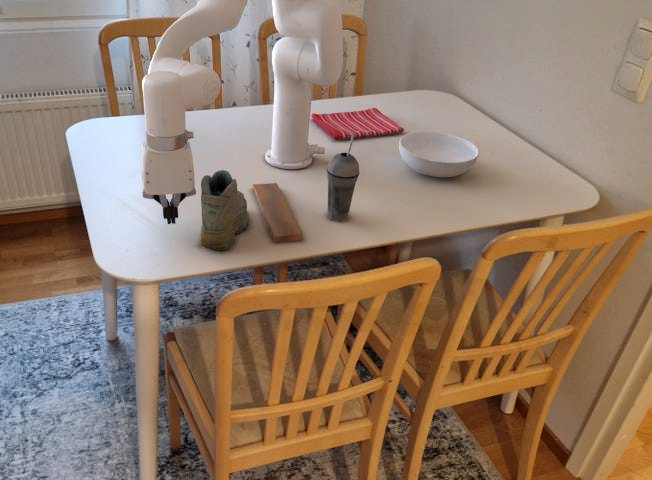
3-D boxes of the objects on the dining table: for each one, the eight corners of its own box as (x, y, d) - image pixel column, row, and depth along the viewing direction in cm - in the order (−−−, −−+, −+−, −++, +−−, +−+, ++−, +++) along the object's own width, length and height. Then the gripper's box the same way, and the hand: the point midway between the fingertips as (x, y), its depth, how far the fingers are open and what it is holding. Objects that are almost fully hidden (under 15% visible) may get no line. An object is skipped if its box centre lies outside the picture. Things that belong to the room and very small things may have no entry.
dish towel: (308, 120, 194) (309, 112, 192) (376, 113, 202) (377, 105, 201) (333, 142, 181) (334, 133, 180) (404, 134, 189) (405, 126, 188)
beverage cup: (319, 208, 149) (328, 127, 137) (350, 208, 150) (361, 128, 138) (323, 224, 143) (333, 141, 131) (355, 224, 144) (367, 142, 132)
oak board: (276, 188, 156) (276, 183, 155) (301, 240, 137) (302, 234, 136) (252, 190, 154) (252, 184, 153) (274, 242, 135) (274, 236, 134)
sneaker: (267, 215, 144) (264, 154, 135) (226, 258, 129) (219, 192, 121) (226, 207, 148) (220, 147, 139) (181, 247, 133) (172, 183, 125)
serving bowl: (487, 171, 172) (493, 148, 168) (446, 195, 159) (452, 170, 155) (422, 146, 183) (427, 124, 179) (379, 166, 170) (383, 142, 166)
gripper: (202, 129, 126) (204, 209, 137) (125, 132, 123) (133, 214, 133) (207, 144, 120) (209, 227, 131) (127, 148, 117) (135, 233, 128)
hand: (170, 220), depth 132 cm, fingers closed
